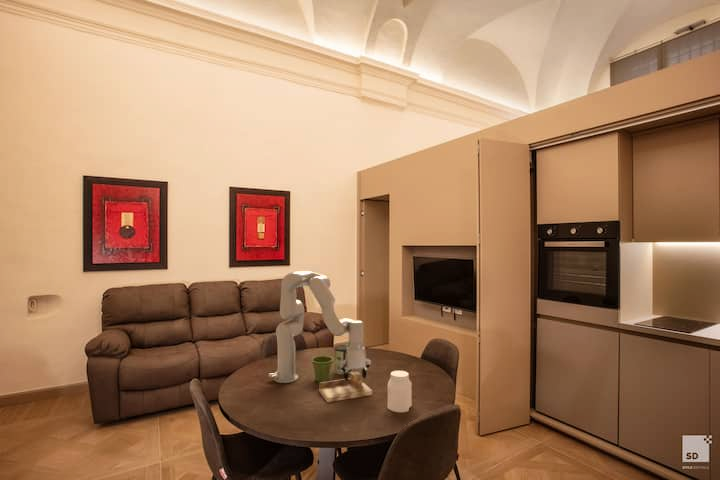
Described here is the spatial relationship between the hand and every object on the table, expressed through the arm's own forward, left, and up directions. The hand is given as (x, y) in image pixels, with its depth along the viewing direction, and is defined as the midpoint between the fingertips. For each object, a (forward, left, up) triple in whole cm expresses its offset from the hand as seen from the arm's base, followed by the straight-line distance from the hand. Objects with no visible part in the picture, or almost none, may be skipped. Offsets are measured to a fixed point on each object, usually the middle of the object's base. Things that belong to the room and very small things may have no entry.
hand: (355, 378), depth 187 cm
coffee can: (+3, +28, -6) cm, 28 cm away
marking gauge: (0, -3, -3) cm, 5 cm away
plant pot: (-12, +20, -6) cm, 24 cm away
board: (-6, -2, -5) cm, 8 cm away
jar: (+11, -26, -6) cm, 29 cm away
